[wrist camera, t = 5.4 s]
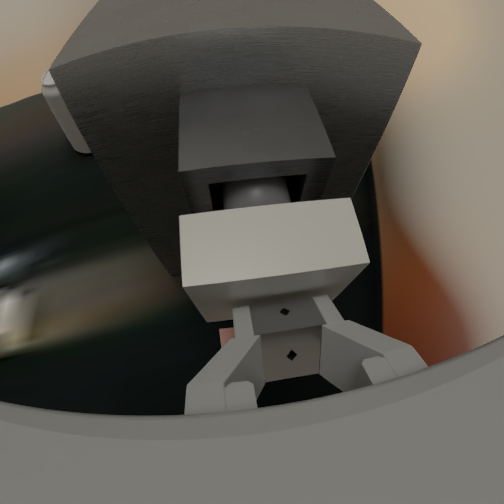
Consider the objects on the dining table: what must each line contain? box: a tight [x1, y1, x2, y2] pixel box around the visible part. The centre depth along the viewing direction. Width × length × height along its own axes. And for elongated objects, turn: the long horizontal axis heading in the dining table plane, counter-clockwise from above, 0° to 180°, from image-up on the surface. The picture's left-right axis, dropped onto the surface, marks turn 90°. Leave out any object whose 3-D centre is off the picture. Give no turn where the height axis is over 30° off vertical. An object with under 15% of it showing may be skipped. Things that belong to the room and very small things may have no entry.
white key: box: [179, 176, 370, 322], centre depth 11 cm, size 5×6×5 cm
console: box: [49, 0, 421, 276], centre depth 19 cm, size 14×14×22 cm
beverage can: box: [41, 66, 92, 153], centre depth 30 cm, size 8×8×12 cm
